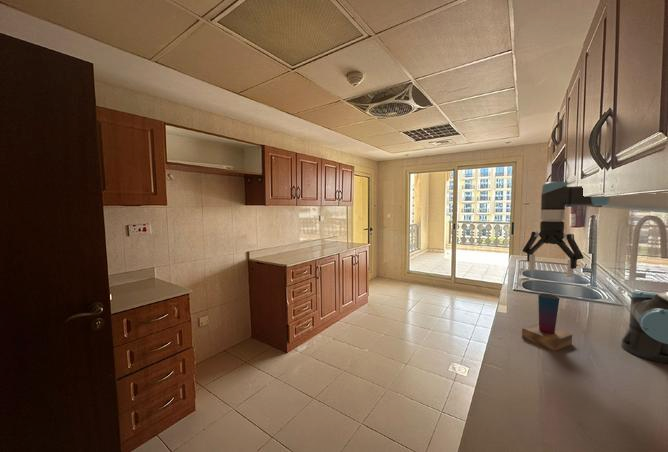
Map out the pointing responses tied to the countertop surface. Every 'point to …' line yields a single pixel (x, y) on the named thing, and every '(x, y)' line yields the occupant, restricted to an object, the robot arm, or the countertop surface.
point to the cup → (547, 312)
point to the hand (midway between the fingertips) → (549, 272)
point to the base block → (547, 337)
